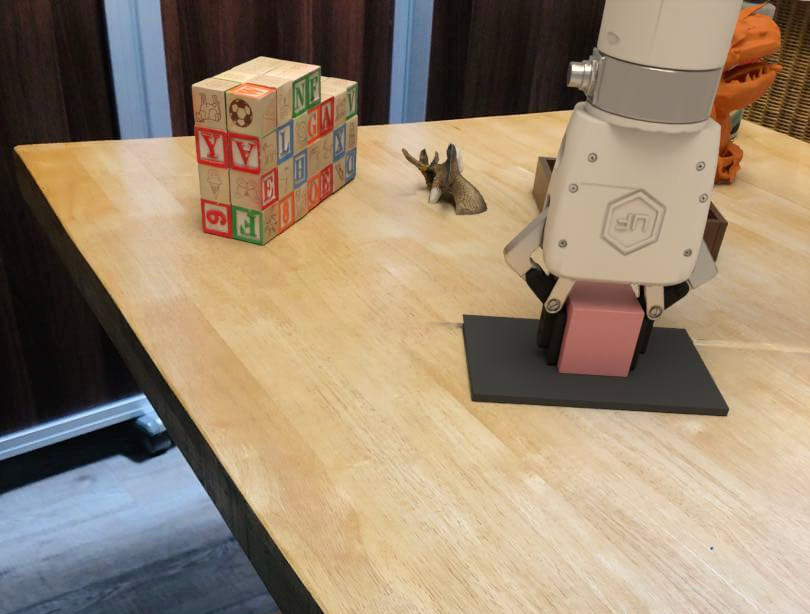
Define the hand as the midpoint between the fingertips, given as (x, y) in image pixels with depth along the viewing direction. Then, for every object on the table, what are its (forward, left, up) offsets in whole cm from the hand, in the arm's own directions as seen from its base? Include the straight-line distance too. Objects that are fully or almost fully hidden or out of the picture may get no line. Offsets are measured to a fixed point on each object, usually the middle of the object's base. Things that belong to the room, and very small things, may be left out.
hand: (587, 356), depth 64 cm
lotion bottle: (-29, -66, -1) cm, 72 cm away
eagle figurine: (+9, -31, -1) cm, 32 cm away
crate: (-8, -28, -1) cm, 29 cm away
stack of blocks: (+25, -29, -1) cm, 38 cm away
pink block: (0, 0, 0) cm, 0 cm away
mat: (0, 0, -1) cm, 1 cm away
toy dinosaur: (-21, -46, -1) cm, 51 cm away
